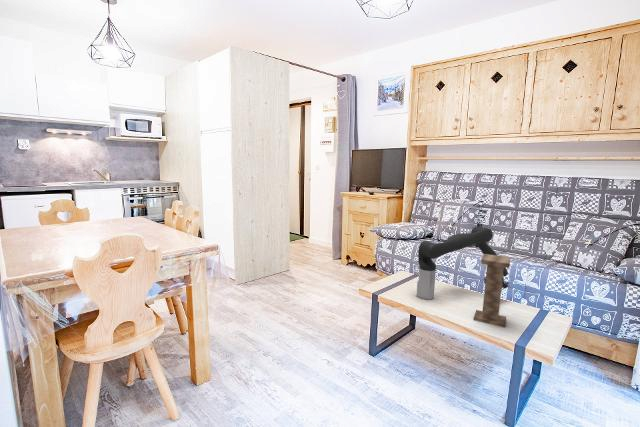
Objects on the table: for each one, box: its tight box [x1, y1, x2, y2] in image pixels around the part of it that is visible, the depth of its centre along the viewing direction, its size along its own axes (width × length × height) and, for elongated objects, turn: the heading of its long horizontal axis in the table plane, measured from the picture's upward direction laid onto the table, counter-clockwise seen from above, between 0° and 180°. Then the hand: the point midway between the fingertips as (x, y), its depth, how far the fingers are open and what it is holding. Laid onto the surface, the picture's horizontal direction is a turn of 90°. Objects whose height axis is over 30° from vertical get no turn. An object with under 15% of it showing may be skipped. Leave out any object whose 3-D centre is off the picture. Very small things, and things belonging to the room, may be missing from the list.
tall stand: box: [473, 254, 512, 328], centre depth 164 cm, size 14×13×32 cm
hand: (495, 287), depth 187 cm, fingers closed on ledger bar, 4 cm apart
